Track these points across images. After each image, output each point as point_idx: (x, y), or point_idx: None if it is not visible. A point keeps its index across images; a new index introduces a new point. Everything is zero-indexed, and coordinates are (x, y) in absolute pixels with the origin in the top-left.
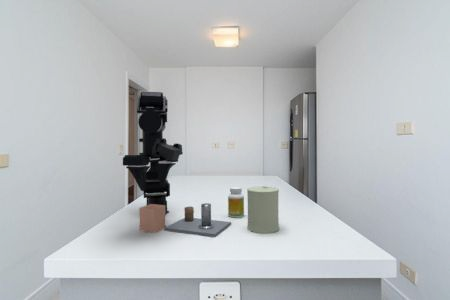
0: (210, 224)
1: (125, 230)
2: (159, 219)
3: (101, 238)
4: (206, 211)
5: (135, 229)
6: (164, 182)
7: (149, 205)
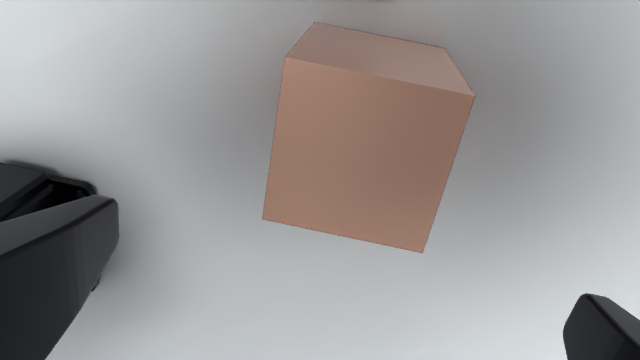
0: None
1: None
2: (388, 52)
3: (561, 298)
4: None
5: None
6: (74, 214)
7: (322, 207)
